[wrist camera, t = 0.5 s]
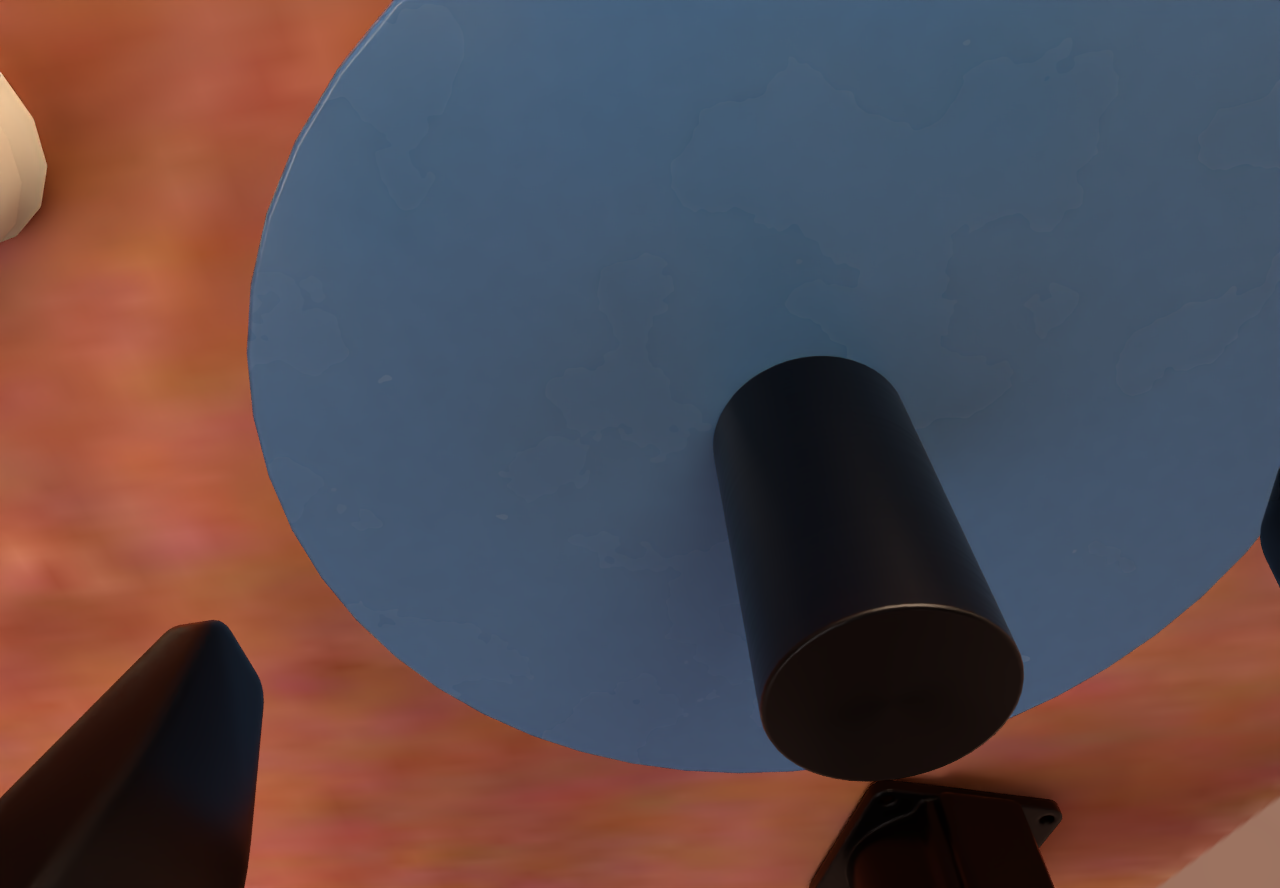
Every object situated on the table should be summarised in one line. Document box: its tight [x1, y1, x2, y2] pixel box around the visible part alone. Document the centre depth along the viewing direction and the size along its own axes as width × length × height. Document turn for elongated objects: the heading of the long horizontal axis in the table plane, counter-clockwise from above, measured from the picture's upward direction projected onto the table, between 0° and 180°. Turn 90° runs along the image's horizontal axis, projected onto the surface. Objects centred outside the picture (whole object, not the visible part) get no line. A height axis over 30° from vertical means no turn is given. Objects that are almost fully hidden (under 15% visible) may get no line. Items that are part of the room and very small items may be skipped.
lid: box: [247, 0, 1280, 781], centre depth 12 cm, size 15×15×6 cm
